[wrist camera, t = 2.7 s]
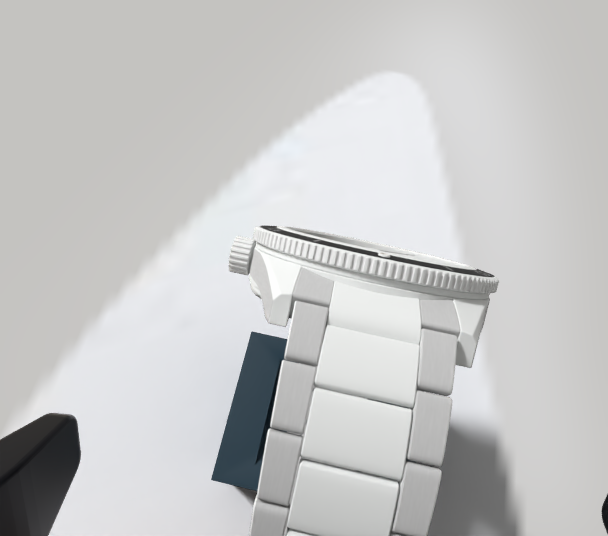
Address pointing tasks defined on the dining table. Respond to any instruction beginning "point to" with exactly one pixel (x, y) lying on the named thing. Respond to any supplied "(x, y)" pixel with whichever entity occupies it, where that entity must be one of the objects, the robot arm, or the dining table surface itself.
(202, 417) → the dining table surface
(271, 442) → the watch
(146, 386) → the dining table surface
